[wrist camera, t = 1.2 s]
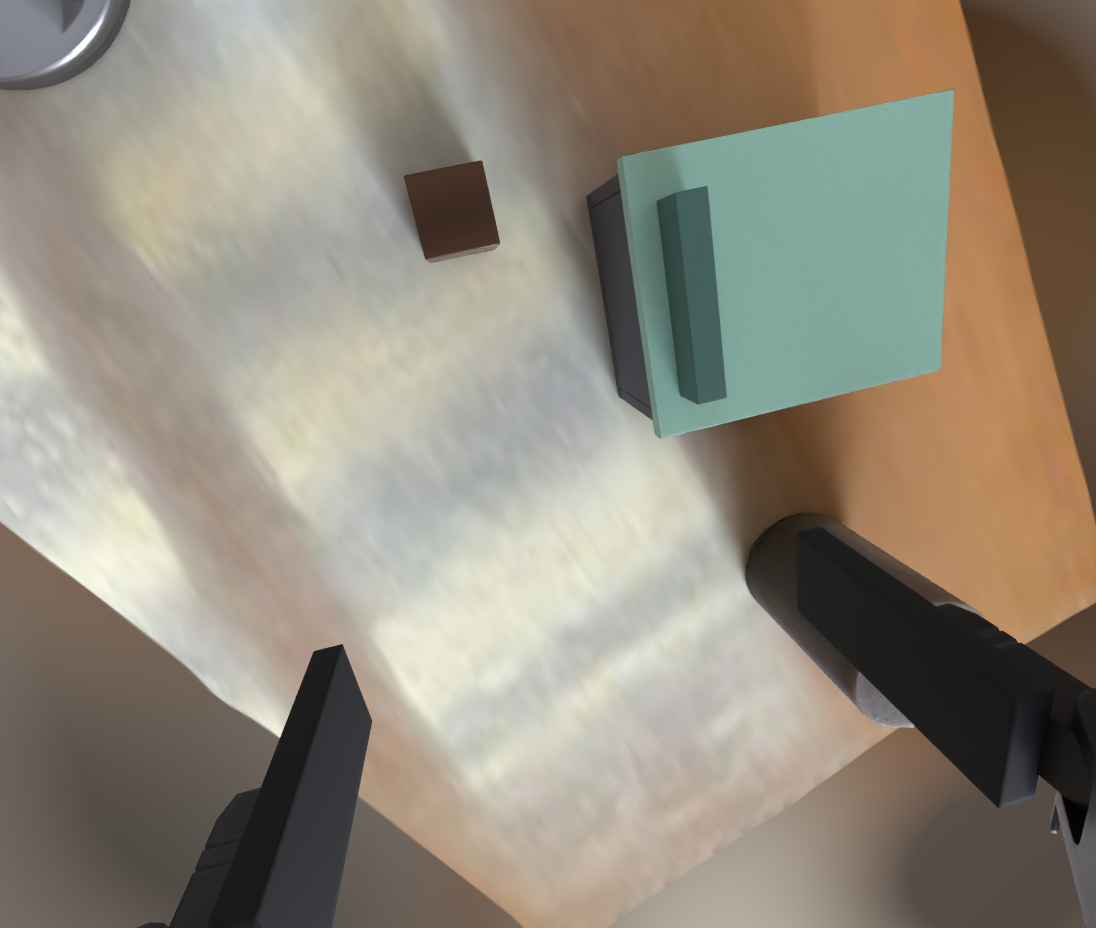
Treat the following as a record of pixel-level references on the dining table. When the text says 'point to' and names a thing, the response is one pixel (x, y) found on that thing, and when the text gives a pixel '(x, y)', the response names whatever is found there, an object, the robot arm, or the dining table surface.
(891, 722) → the pillar candle
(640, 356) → the bin
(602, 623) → the dining table surface
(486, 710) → the dining table surface
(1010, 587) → the dining table surface
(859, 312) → the lid
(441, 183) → the block
